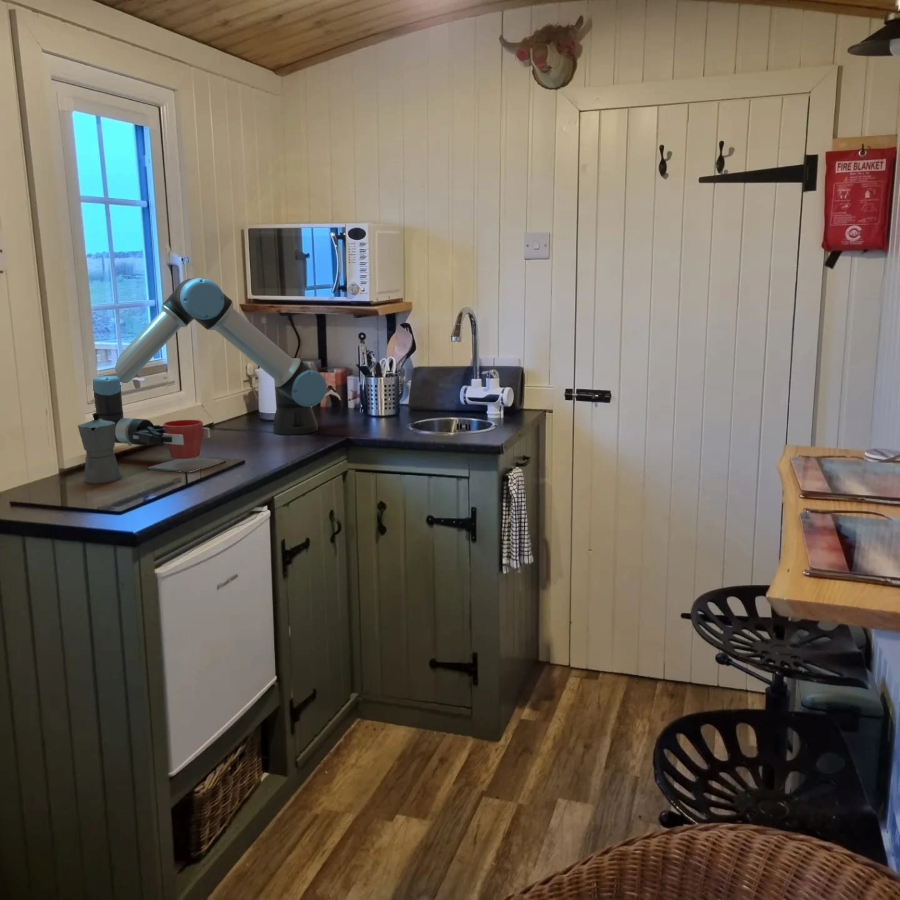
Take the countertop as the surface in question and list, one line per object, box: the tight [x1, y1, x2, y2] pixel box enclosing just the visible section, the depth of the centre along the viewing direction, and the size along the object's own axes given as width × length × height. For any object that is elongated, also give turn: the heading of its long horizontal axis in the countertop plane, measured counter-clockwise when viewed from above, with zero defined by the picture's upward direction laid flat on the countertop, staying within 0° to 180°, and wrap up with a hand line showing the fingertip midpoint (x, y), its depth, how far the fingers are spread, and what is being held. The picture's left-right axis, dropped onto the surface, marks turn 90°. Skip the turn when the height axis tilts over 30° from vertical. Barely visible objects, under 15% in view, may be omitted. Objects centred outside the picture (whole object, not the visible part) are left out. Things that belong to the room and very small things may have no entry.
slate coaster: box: [147, 457, 221, 473], centre depth 248 cm, size 15×15×1 cm
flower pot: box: [162, 419, 204, 460], centre depth 247 cm, size 11×11×10 cm
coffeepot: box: [77, 412, 122, 485], centre depth 234 cm, size 15×9×18 cm, turn 13°
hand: (195, 436), depth 245 cm, fingers closed on flower pot, 10 cm apart
